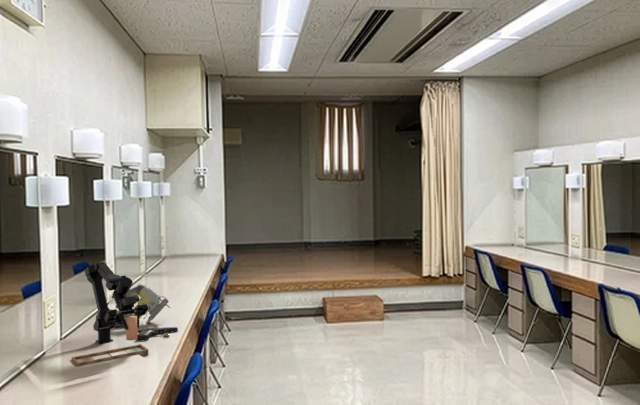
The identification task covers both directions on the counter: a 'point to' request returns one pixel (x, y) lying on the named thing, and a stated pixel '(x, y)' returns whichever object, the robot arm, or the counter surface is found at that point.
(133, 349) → the box
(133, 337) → the smooth tapered peach-colored object
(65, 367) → the counter surface
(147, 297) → the circular saw
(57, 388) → the counter surface
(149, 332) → the pistol
